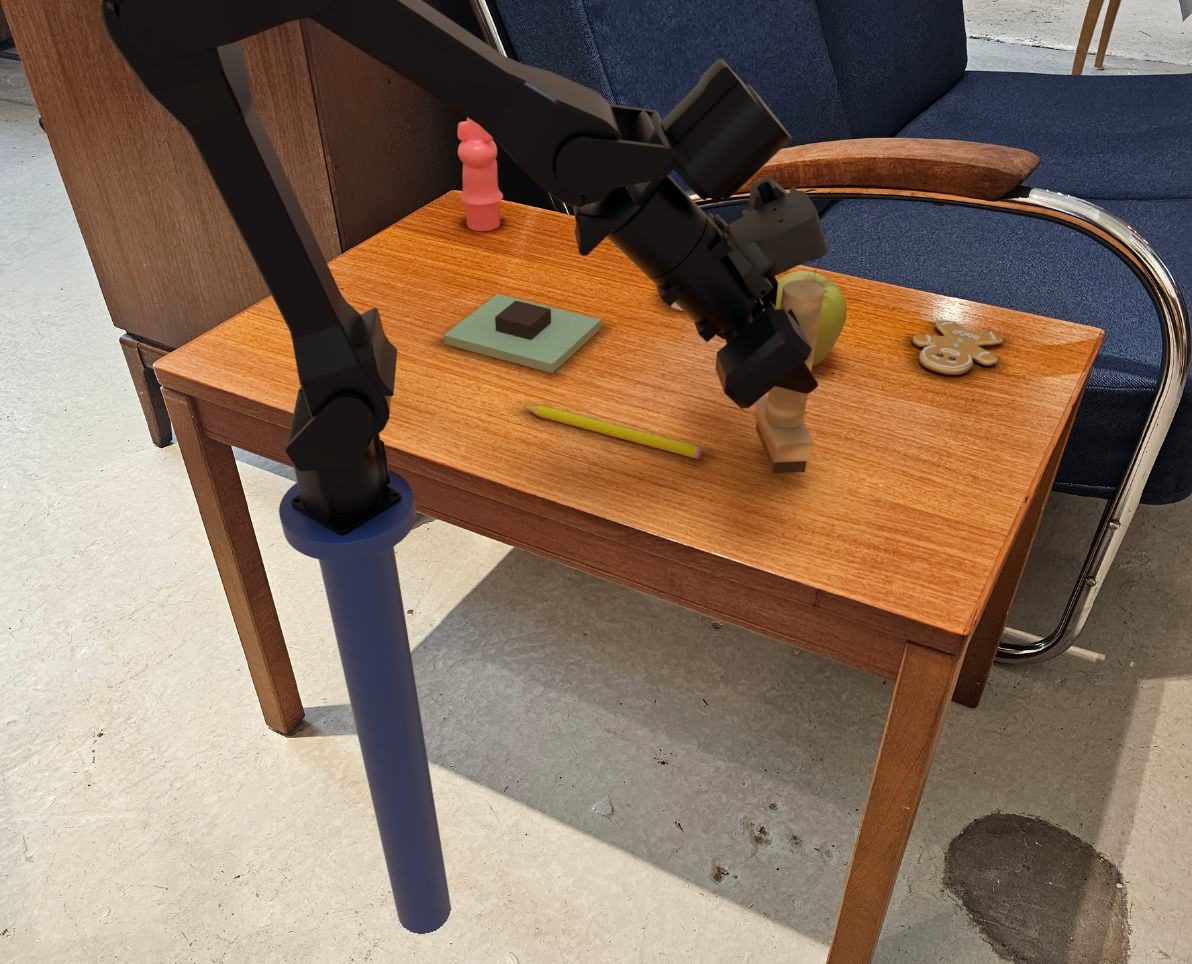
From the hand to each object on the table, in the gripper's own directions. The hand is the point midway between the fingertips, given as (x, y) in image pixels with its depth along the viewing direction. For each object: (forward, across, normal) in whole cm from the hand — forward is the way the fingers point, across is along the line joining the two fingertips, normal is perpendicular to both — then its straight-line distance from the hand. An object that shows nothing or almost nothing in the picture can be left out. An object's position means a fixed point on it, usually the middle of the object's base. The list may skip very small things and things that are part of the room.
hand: (807, 378), depth 82 cm
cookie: (+20, +17, -8) cm, 27 cm away
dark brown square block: (-10, +24, +20) cm, 33 cm away
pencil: (-4, +6, +16) cm, 18 cm away
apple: (+9, +17, +3) cm, 19 cm away
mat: (-9, +24, +21) cm, 33 cm away
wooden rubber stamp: (+4, 0, +6) cm, 7 cm away
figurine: (-12, +52, +23) cm, 58 cm away
